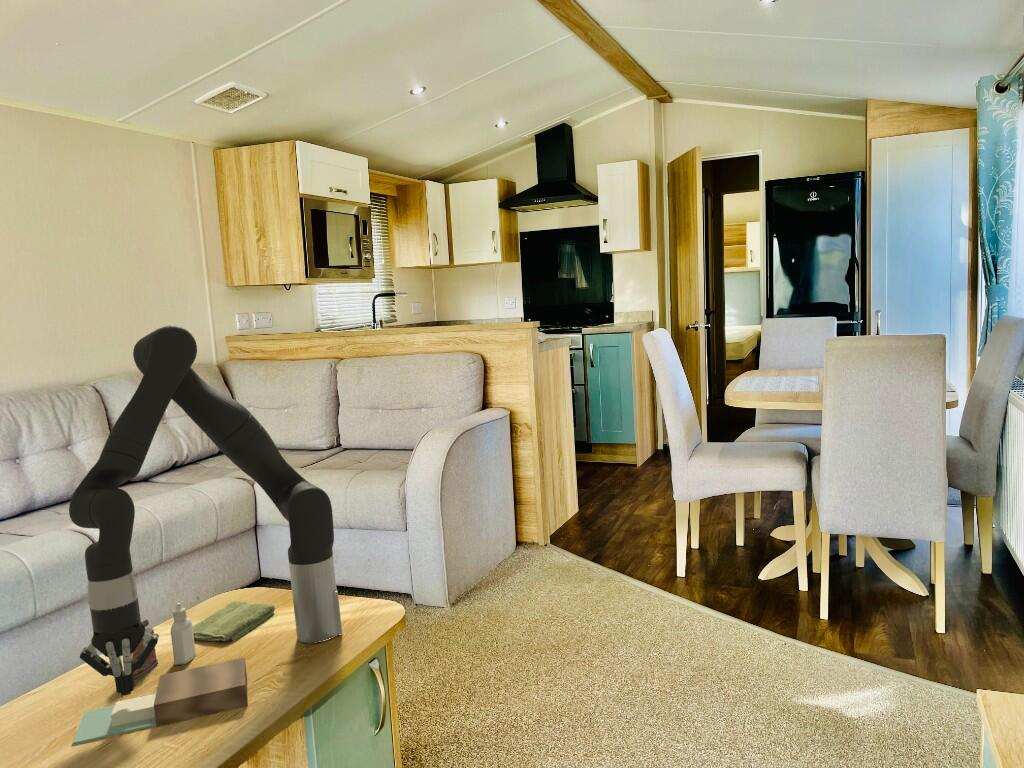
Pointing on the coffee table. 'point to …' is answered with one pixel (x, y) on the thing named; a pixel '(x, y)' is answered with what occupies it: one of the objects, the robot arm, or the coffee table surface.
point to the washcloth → (232, 621)
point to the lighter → (150, 661)
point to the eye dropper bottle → (182, 637)
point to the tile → (133, 710)
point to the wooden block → (201, 691)
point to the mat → (105, 725)
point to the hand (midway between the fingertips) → (126, 693)
